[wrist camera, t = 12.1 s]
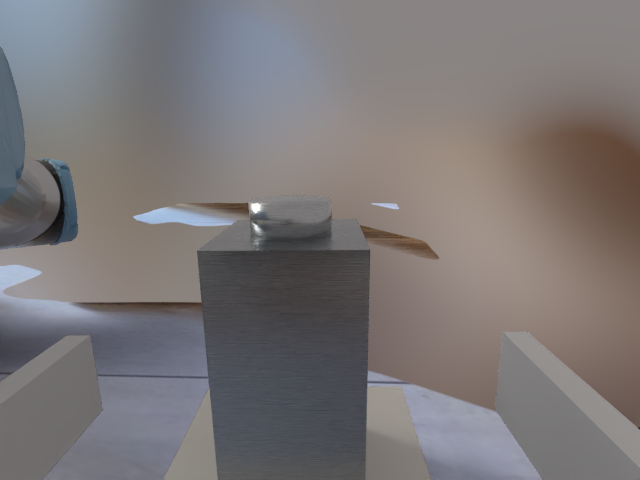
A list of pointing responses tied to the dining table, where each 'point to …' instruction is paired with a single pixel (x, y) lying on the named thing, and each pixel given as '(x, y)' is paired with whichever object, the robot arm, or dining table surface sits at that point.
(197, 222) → the dining table surface
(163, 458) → the dining table surface
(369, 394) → the plinth
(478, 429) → the dining table surface
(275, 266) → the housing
